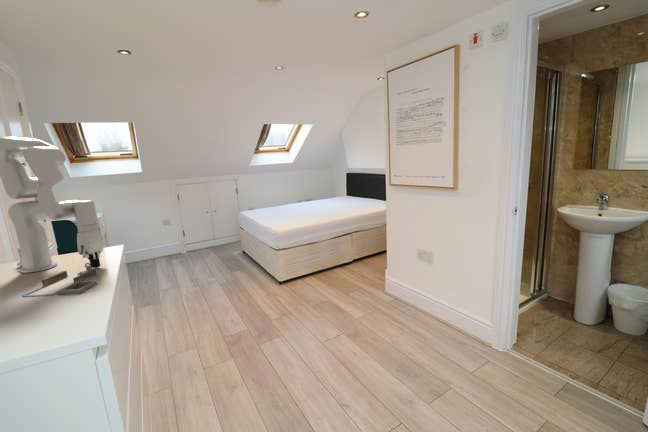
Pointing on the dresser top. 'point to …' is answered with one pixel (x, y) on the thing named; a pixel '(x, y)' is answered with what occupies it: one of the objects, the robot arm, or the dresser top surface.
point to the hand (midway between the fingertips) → (95, 267)
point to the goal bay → (37, 295)
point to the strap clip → (87, 269)
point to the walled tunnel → (64, 274)
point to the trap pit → (77, 287)
